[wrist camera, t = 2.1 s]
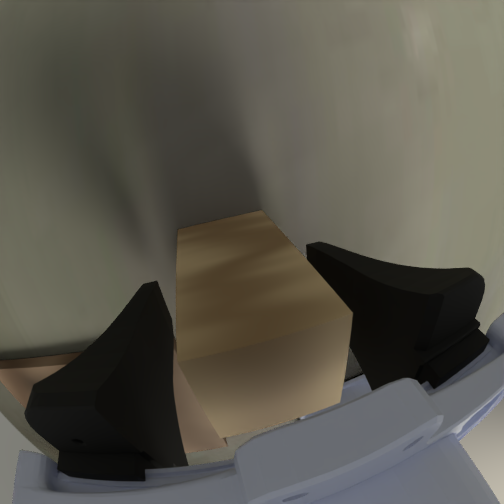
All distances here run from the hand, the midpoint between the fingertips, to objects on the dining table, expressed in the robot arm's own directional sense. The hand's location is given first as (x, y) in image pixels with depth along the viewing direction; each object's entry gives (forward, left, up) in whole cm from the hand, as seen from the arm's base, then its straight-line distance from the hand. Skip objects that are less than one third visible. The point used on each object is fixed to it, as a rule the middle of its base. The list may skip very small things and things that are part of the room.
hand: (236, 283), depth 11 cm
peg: (0, 0, -2) cm, 2 cm away
